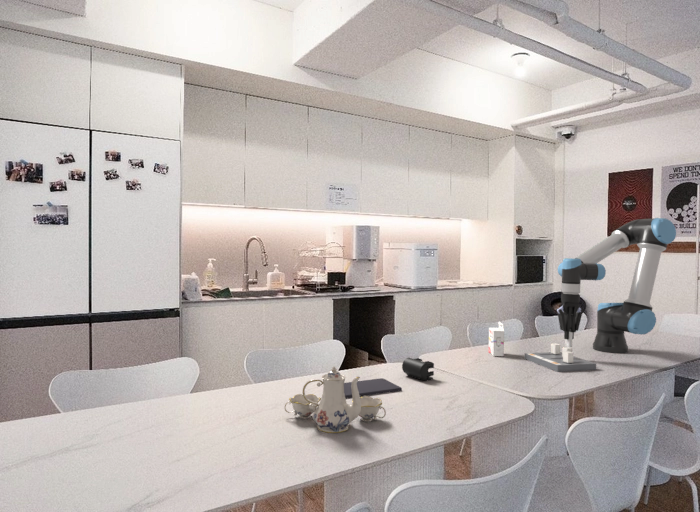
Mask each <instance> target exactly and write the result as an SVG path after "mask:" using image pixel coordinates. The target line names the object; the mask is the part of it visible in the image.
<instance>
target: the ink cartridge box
mask: <svg viewBox="0 0 700 512" xmlns="http://www.w3.org/2000/svg"><path fill="white" fill-rule="evenodd" d="M504 352H505V325H504V323H502V322H501V321H498V327H488V354H490V353H491V354H492V355H493V356H505V353H504ZM491 354H490V355H491ZM492 355H491V356H492ZM493 356H492V357H493Z"/></svg>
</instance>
